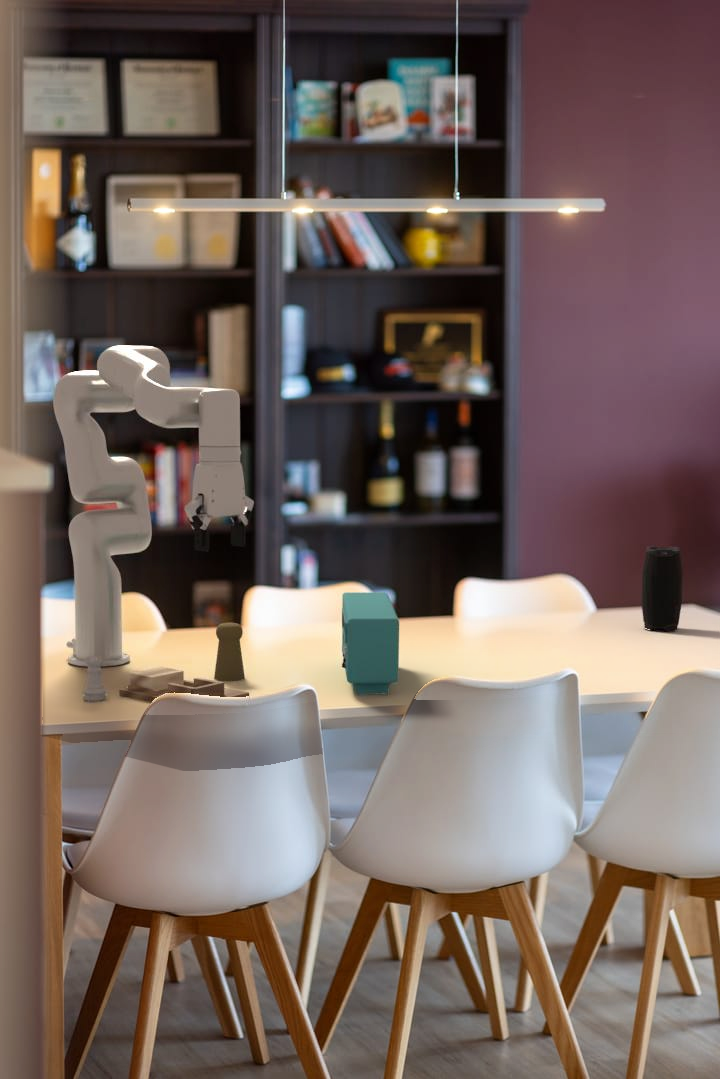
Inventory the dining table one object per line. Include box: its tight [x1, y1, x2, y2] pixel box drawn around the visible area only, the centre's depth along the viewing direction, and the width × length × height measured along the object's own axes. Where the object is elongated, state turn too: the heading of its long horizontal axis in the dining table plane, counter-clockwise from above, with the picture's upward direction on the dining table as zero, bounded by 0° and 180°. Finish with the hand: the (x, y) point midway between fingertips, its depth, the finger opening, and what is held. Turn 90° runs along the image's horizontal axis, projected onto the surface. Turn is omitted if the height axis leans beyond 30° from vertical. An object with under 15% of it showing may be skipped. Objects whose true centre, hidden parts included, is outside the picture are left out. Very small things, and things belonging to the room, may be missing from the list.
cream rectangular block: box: [129, 666, 185, 691], centre depth 278 cm, size 6×8×3 cm
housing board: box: [118, 677, 250, 703], centre depth 275 cm, size 20×14×3 cm
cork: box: [213, 622, 246, 682], centre depth 292 cm, size 6×6×11 cm
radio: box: [341, 592, 400, 695], centre depth 291 cm, size 34×10×15 cm, turn 2°
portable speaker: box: [641, 545, 684, 632], centre depth 351 cm, size 9×9×20 cm
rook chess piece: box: [82, 655, 108, 703], centre depth 272 cm, size 4×4×8 cm
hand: (220, 548), depth 275 cm, fingers open, 9 cm apart
